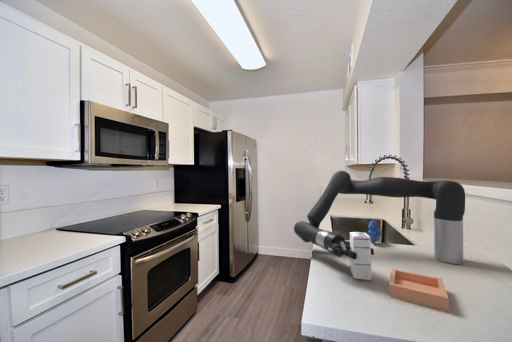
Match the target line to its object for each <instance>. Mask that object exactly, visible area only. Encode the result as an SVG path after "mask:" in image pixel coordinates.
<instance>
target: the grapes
mask: <svg viewBox="0 0 512 342" xmlns="http://www.w3.org/2000/svg"><path fill="white" fill-rule="evenodd" d="M368 224H369V225H367V227H368V231H367V235H369V236H370V241H371V244H375V243H377V241H378V240H379V238H378V237H379V236H382V234H383V231H382V230H380V228H379V227H378V225H379V224H378V223H377V221H375V220H370V221H369V223H368Z"/></svg>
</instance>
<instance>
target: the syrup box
mask: <svg viewBox="0 0 512 342" xmlns="http://www.w3.org/2000/svg"><path fill="white" fill-rule="evenodd" d="M349 241H350V251H353V252H356V253H357V259H355V260H354V259H352V258H350V257H349V258H350V259H349V260H350V261H349V262H350V264H349V265H350V273H351V275H352V276H353V278H354V279H357V280H364V281H365V280H369V281H372V255H371V248H372V245H371V244H372V242H371V241H370V235H369V234H368V233H367V232H364V231H362V232H361V231H351V232H350V231H349Z"/></svg>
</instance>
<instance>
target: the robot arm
mask: <svg viewBox="0 0 512 342" xmlns="http://www.w3.org/2000/svg"><path fill="white" fill-rule="evenodd" d="M339 194H341V195H366V196H368V195H369V196H378V197H386V198H387V197H388V198H424V199H431V200H435V209H434V211H433V232H434V233H433V234H434V235H433V238H434V239H433V240H434V242H433V243H434V244H433V245H434V249H433V250H434V252H433V253H434V255H433V256H434V259H435V258H436V259H435V260H437V261H440V262H442V263H446V264H452V265H453V264H454V265H463V264H464V215H465V211H466V192H465V187H464V186H463V185H462V184H460V183H459V182H457V181H454V180H425V181H424V180H414V179H411V178H410V179H409V178H403V177H396V176H395V177H394V176H378V177H374V178H369V179H367V180H357V179H356V180H355V179H352V178H351V175H350V174H349V172H347V171H345V170H338V171H335V172H334V173H333V174H332V176H331V179H330V180H329V182H328V184H327V185H326V188H325V189H324V191H323V193H322V194H321V196H320V197H319V199H318V200H317V201H316V203H315V204H314V205H313V207H312V208H311V210H310V211H309V212H308V214H307V215H306V216H307V217H306V218H307V220H308V222H307V221H304V220H300V221H298V222H296V223H295V224H294V226H293V232H294V233H295V235H297V236H298V238H300V239H301V240H302V241H303V242H304V243H312V245H313V244H314V245H315V246H318V247H320V248H321V249H324V250H326V251H328V253H330V254H332V255H334V256H337V257H339V258H340V257H341V258H342V256H343V257H348V258H352V259H354V260H355V259H357V253H356V252H353V251H350V240H346V239H345V238H344V236H343V235H341V234H339V233H335V232H332V231H330V230H324V229H322V228H320V225H321V223H322V222H323V221H324V219H325V217H326V216H327V215H328V213H329V211H330V210H331V208H332V206H333V203H334V201H335V200H336V198H337V196H338V195H339ZM374 255H375V250H374V248H372V247H371V256H374Z"/></svg>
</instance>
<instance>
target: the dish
mask: <svg viewBox="0 0 512 342" xmlns="http://www.w3.org/2000/svg"><path fill="white" fill-rule="evenodd" d="M388 296H389V297H392V298H396V299H399V300H403V301H407V302H410V303H413V304H414V303H415V304H419V305H421V304H422V305H421V306H425V305H426V306H425V307H430V308H433V309H438V310H441V311H444V312H448V313H449V312H450V311H449V297H448V296H449V295H448V293H447V289H446V287H445V284H444V281H443V278H442V277H441V278H440V277H437V276H431V275H427V274H422V273H418V272H417V273H416V272H413V271H407V270H402V269H397V268H391V270H390V277H389V283H388Z"/></svg>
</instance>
